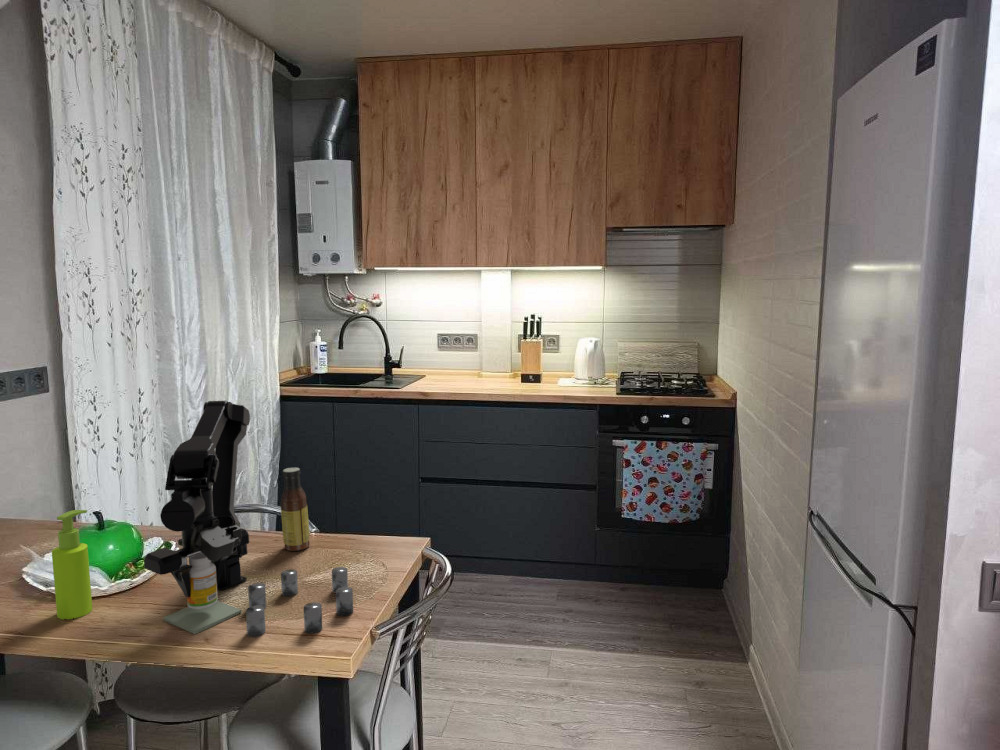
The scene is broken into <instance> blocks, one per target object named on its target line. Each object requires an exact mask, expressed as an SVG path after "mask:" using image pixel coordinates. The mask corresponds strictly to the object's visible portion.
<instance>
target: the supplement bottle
mask: <svg viewBox="0 0 1000 750" xmlns="http://www.w3.org/2000/svg"><path fill="white" fill-rule="evenodd" d="M188 565H191V566H192V568H191V570H190V572H189V575H190V587H191V595H190V597H186V602H187V607H189V608H192V609H204V608H207V607H210V606H212V605H214V604H215V603H216V602H217V600H218V601H219V599H218V589H217V579H216V567H215V565H214V564H213V563H211V561H210V560H209V559H208V558H207V557H206V556H205V555H204V554H203V553H199V554H196V555H193V556H191V557H188Z"/></svg>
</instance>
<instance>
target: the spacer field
mask: <svg viewBox="0 0 1000 750" xmlns="http://www.w3.org/2000/svg"><path fill="white" fill-rule="evenodd" d="M348 575H349V574H348V568H347V567H344V566H338V567H334V568H333V569H332V570H331V585H332V586H331V588H332V591H333V592H335V593H336V594H335V593H334V594H335V605H336V606H335V607H336V608H335V609H336V615H337V614H338V615H337V616H339V615H340V616H339V617H347V616H350V614H351V615H352V614H353V613H354V594H353V593H354V592H353V588H352V587H349V581H348ZM280 581H281V582H280V583H281V584H280V585H281V595H282V597H293V595H294V596H296V595H297V594H298V593H299V588H298V587H299V586H298V584H299V583H298V571H297V570H296V569H294V568H293V569H291V568H289V569H285V570H282V571H281V573H280ZM247 589H248V590H247V591H248V595H247V597H248V607H247V608H246V610H245V616H246V617H245V618H246V635H247V636H248V637H250V638H251V637H252V638H256V637H260V636H263V635H264V634H265V633H266V614H265V609H266V608H267V596H266V595H267V593H266V584H265V583H263V582H256V583H251V584H249V585H248V587H247ZM333 592H332V593H333ZM295 594H296V595H295ZM322 609H323V607H322V603H321V602H309V603H308V602H307V604H304V606H303V625H304V628H303V629H304V632H305V634H311V635H313V634H317V633H320V632H321V631H322V630H323V613H322V611H323V610H322Z"/></svg>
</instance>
